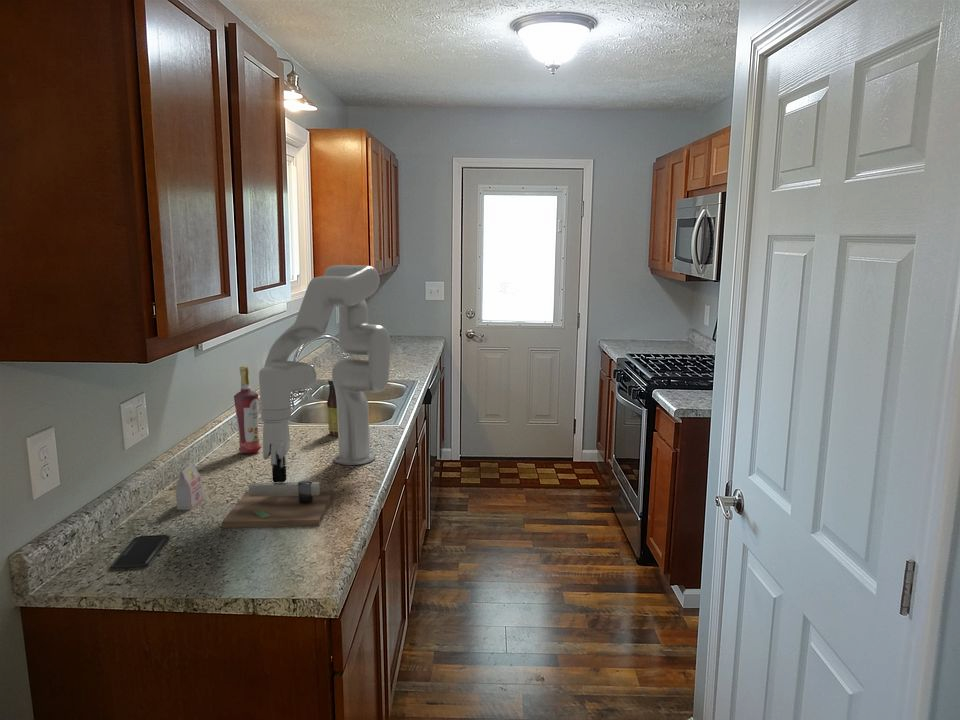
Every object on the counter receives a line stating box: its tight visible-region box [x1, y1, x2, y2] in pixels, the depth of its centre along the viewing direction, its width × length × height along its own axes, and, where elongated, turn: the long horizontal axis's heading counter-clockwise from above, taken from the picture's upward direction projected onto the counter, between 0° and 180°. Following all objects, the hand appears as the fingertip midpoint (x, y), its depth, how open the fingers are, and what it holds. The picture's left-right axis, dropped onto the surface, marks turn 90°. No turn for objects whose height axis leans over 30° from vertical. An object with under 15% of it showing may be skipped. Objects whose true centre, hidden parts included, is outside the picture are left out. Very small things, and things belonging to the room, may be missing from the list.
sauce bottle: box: [326, 378, 338, 437], centre depth 237 cm, size 7×6×20 cm
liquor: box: [233, 365, 262, 455], centre depth 217 cm, size 7×7×28 cm
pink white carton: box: [174, 463, 204, 511], centre depth 176 cm, size 4×7×10 cm, turn 177°
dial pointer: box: [248, 480, 321, 503], centre depth 174 cm, size 18×4×5 cm, turn 92°
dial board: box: [221, 487, 335, 529], centre depth 173 cm, size 21×23×2 cm
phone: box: [109, 534, 171, 571], centre depth 150 cm, size 8×1×15 cm
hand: (279, 481), depth 180 cm, fingers closed
